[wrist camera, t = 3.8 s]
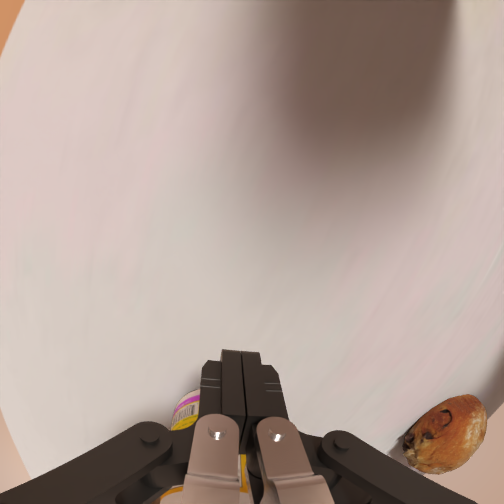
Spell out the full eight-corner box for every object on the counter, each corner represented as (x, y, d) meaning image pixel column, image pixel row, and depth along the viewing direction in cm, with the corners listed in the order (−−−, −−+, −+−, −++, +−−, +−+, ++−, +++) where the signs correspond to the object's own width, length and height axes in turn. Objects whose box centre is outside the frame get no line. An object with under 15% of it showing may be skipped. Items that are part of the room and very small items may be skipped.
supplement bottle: (259, 437, 22) (275, 574, 10) (179, 435, 22) (165, 572, 9) (265, 382, 20) (292, 555, 8) (170, 379, 20) (139, 550, 7)
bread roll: (415, 432, 30) (451, 469, 24) (376, 458, 24) (420, 506, 18) (463, 375, 27) (506, 412, 21) (438, 392, 22) (493, 443, 15)
